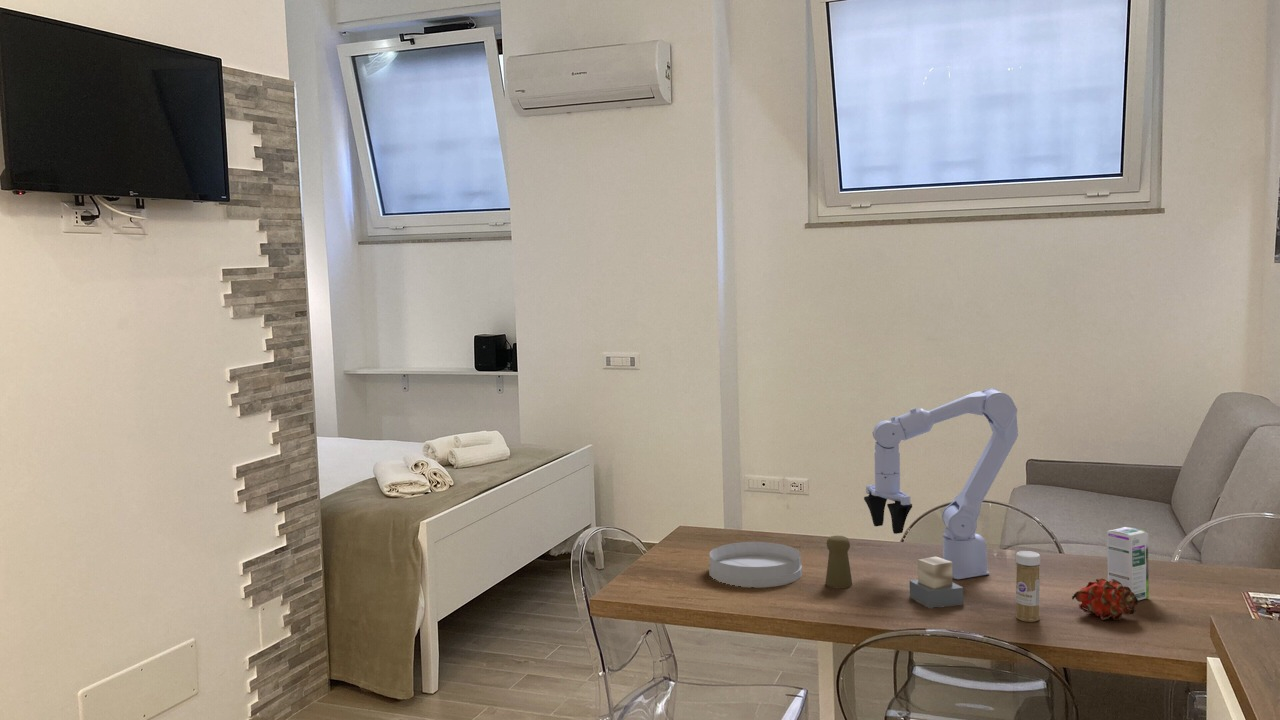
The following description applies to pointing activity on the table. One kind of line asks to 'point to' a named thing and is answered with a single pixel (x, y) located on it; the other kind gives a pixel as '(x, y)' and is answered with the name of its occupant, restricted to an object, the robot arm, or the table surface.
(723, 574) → the dish
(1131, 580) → the syrup box
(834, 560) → the cork
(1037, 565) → the sprinkles bottle
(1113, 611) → the dragon fruit
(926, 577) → the beech cube
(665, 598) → the table surface
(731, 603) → the table surface
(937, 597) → the grey block
